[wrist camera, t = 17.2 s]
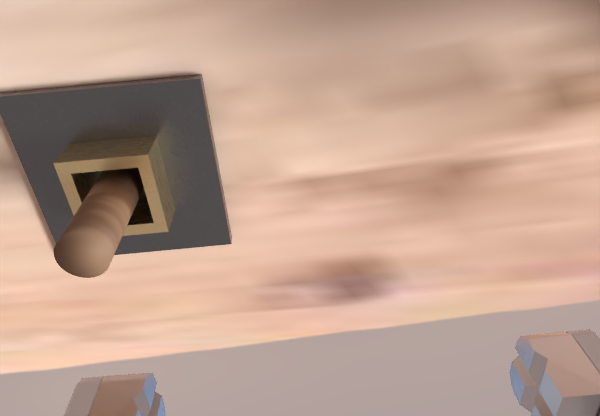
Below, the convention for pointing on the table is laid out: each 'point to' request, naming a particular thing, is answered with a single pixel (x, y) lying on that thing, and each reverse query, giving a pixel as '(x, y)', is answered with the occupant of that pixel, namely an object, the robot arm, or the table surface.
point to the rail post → (99, 223)
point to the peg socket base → (125, 156)
